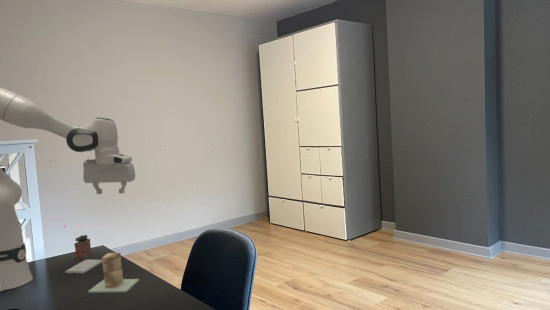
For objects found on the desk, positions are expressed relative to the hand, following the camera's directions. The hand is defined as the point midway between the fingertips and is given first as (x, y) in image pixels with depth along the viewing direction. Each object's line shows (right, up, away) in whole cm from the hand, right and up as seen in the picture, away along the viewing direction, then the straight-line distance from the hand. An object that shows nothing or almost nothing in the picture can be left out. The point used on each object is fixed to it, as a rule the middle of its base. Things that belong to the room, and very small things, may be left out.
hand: (110, 193), depth 164 cm
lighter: (-19, -30, +19) cm, 40 cm away
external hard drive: (-13, -32, +7) cm, 35 cm away
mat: (+8, -32, -16) cm, 36 cm away
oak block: (+8, -31, -16) cm, 36 cm away
